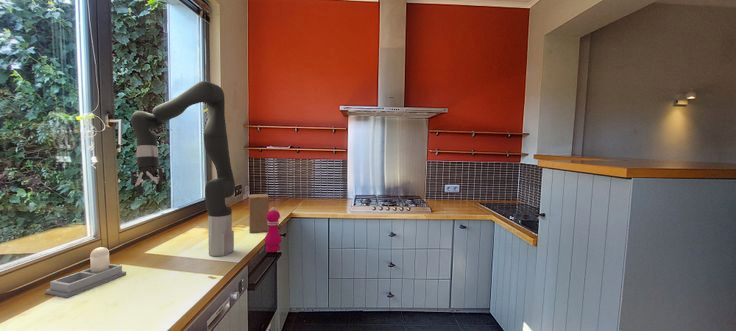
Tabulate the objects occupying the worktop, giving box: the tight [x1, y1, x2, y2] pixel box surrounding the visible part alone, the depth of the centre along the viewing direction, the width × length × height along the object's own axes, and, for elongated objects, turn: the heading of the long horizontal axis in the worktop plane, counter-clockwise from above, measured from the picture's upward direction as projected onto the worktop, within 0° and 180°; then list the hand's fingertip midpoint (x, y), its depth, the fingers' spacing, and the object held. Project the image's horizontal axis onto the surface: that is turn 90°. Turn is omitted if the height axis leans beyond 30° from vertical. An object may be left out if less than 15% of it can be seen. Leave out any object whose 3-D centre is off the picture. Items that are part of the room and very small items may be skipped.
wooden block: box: [248, 193, 270, 234], centre depth 159 cm, size 10×10×20 cm
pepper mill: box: [264, 206, 282, 253], centre depth 129 cm, size 7×7×20 cm
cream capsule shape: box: [89, 246, 110, 274], centre depth 98 cm, size 5×5×10 cm
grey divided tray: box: [45, 263, 127, 299], centre depth 95 cm, size 10×17×4 cm, turn 166°
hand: (149, 193), depth 121 cm, fingers open, 8 cm apart
